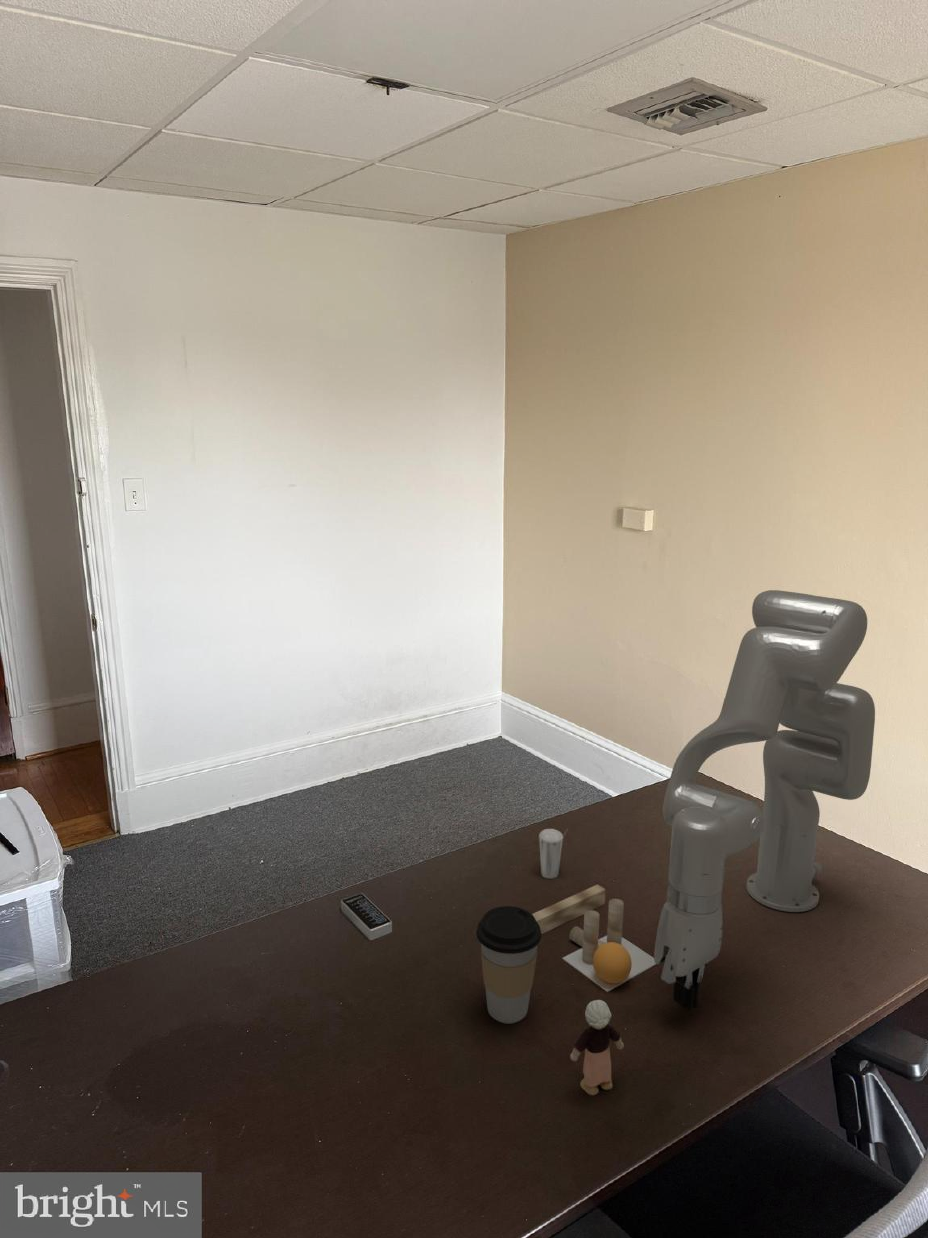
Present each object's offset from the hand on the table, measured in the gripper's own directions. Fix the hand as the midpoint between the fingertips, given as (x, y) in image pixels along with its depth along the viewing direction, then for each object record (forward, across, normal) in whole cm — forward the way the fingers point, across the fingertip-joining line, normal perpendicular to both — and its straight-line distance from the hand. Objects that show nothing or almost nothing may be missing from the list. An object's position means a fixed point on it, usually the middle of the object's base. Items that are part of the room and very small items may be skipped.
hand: (685, 1003), depth 127 cm
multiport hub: (+2, +26, -48) cm, 55 cm away
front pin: (0, 0, -14) cm, 14 cm away
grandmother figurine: (+2, +21, +2) cm, 21 cm away
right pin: (+2, -3, -17) cm, 17 cm away
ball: (-2, +3, -12) cm, 12 cm away
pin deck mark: (+2, 0, -15) cm, 15 cm away
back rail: (+2, 0, -28) cm, 28 cm away
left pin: (+2, +3, -17) cm, 17 cm away
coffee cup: (+2, +21, -16) cm, 26 cm away
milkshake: (+2, -10, -40) cm, 41 cm away
